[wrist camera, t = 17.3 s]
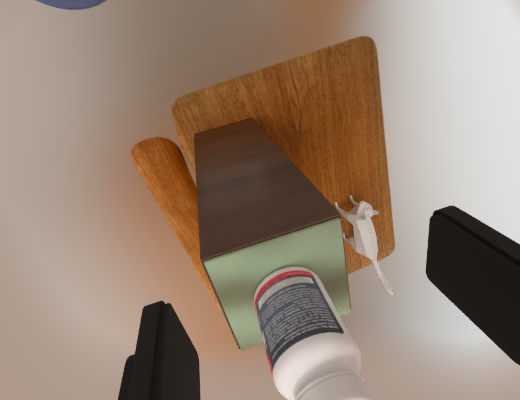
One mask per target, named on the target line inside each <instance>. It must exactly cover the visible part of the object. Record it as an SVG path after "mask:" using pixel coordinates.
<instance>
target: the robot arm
mask: <svg viewBox="0 0 520 400" xmlns="http://www.w3.org/2000/svg"><path fill="white" fill-rule="evenodd" d="M426 274H427V277H428V278H429V280H430V281H431V282H432V283H433V284H434V285H435V286H436V287H437V288H438V289H439V290H440V291H441V292H442V293H443V294H444V295H445V296H446V297H447V298H448V299H449V300H451V302H453V303H454V304H455V305H456V306H457V307H458V308H459V309H460V310H461V311H462V312H463V313H464V314H465V315H466V316H467V317H469V319H470V320H471V321H472V322H473V323H474V324H475V325H476V326H478V327H479V328H480V329H481V330H482V331H483V332H484V333H485V334H486V335H487V336H488V337H489V338H490V339H491V340H492V341H493V342H494V343H495V344H496V345H497V346H498V347H499V348H501V350H503V351H504V352H505V353H506V354H507V355H508V356H509V357H510V358H511V359H512V360H513V361H514V362H515V363H517V364H519V365H520V244H518V243H516V242H515V241H513V240H511V239H509V238H508V237H506V236H504V235H503V234H501V233H499V232H498V231H496V230H494V229H492V228H491V227H489V226H488V225H486V224H484V223H482V222H481V221H479V220H477V219H476V218H474V217H472V216H471V215H469V214H467V213H466V212H464V211H462V210H460V209H459V208H457V207H455V206H448V207H445V208H442V209H439V210H436V211H434V213H433V216H432V217H431V218H430V225H429V237H428V250H427V262H426ZM199 376H200V374H199V358H198V354H197V351H196V349H195V348H194V345H193V344H192V342H191V340H190V338H189V336H188V334H187V333H186V331H185V329H184V327H183V325H182V324H181V322H180V320H179V318H178V316H177V314H176V313H175V311H174V309H173V307H172V305H171V304H170V303H167V304H165V303H164V302H163V301H159V302H156V303H153V304H150V305H147V306H145V307H144V308H143V311H142V317H141V322H140V328H139V334H138V340H137V345H136V351H135V354H134V355H131V356H129V357H128V359H127V360H126V363H125V368H124V372H123V377H122V382H121V387H120V392H119V397H118V400H200V377H199Z"/></svg>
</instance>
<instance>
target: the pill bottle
mask: <svg viewBox="0 0 520 400" xmlns="http://www.w3.org/2000/svg"><path fill="white" fill-rule="evenodd" d="M254 307H255V311H256V315H257V318H258V322H259V326H260V330H261V334H262V338H263V342H264V345H265V349H266V353H267V357H268V361H269V365H270V369H271V373H272V377H273V380H274V383H275V386H276V388H277V390H278V391H279V392H280V393H281V394H282V395H283V396H284V397H286V398H287V399H289V400H374V398H373V396H372V394H371V392H370V390H369V388H368V385H367V383H366V382H365V381H364V380H363V379H362V377H361V376H360V375H359V374H358V373H359V371H360V368H361V353H360V350H359V348H358V346H357V344H356V342H355V340H354V339H353V337H352V335H351V333H350V332H349V330H348V328H347V327H346V325H345V323H344V321H343V320H342V318H341V316H340V315H339V313H338V311H337V309H336V307H335V305H334V304H333V302H332V300H331V298H330V296H329V295H328V293H327V291H326V289H325V287H324V285H323V284H322V282H321V280H320V279H319V277H318V276H317V275H316V274H315V273H314V272H312V271H311V270H309V269H307V268H304V267H286V268H283V269H280V270H277V271H275V272H273V273H271V274H270V275H268V276H267V277H266V278H265V279H264V280H263V281H262V282H261V283H260V284H259V286H258V287H257V289H256V292H255V295H254Z"/></svg>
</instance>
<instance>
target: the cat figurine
mask: <svg viewBox="0 0 520 400" xmlns="http://www.w3.org/2000/svg"><path fill="white" fill-rule="evenodd" d="M349 197H350V201H351V202H352V203H353V204H354V205H355V207H354V208H352V209H351V211H350V212H345V211H343V210H342V209H340V208H339V207H338V204H337V201H336V202H334V203H335V206H336V208H337V209H338V211H339V212H340V214H341V215H342V216H343V217H344V218H346V219H347V220H348V221H349V222H350V223H351V224H353V230H354V237H350V238H349V240H348V239H346V238H345V235H344V232H343V238H344V239H345V240H346V241H347V243H348V244H349V245H351V246H353V248H354V249H355V251H356V252H357V253H359V254H362V255H364V256H366V257H367V258H369V259H370V260H371V262H372V265H373V267H374V270H375V272H376V275H377V277H378V279H379V281H380V283H381V285H382V286H383V288H384V290H385V291H386V293H387V294H388V295H391V296H393V290H392V288H391V286H390V284H389V283H388V281H387V280H386V278H385V277H384V275H383V273H382V272H381V270H380V268H379V265H378V263H377V260H376V258H377V253H378V247H377V238H376V234H375V230H374V226H373V223H372V221H371V218H370V217H372V216H373V215H378V214H379V211H376V210H372V206H371V205H370V204H368V203H366V202H365V201H361V202H359V204H358V203H356V202H355V201H353V199H352V195H350V196H349Z"/></svg>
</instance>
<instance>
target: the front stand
mask: <svg viewBox="0 0 520 400" xmlns="http://www.w3.org/2000/svg"><path fill="white" fill-rule="evenodd" d="M194 144H195V163H196V181H197V182H196V183H197V202H198V221H199V241H200V260H201V262H202V264H203V267H204V269H205V271H206V274H207V276H208V278H209V281H210V283H211V285H212V288H213V290H214V292H215V295H216V297H217V299H218V302H219V304H220V306H221V308H222V311H223V313H224V315H225V318H226V320H227V322H228V325H229V327H230V329H231V332H232V334H233V336H234V339H235V341H236V343H237V345H238V348H239V349H241V350H242V351H243V350H246V349H248V348H251V347H254V346H257V345H260V344H262V343H264V342H263V338H262V334H261V330H260V326H259V322H258V318H257V315H256V311H255V307H254V295H255V292H256V289H257V287H258V286H259V284H260V283H261V282H262V281H263V280H264V279H265V278H266V277H267V276H268V275H270V274H271V273H273V272H275V271H277V270H280V269H283V268H286V267H304V268H307V269H309V270H311V271H312V272H314V273H315V274H316V275H317V276H318V277H319V279H320V280H321V282H322V284H323V285H324V287H325V289H326V291H327V293H328V295H329V296H330V298H331V300H332V302H333V304H334V305H335V307H336V309H337V311H338V313H339V315H340V316H342V315H345V314H348V313H351V304H350V294H349V285H348V276H347V267H346V258H345V249H344V240H343V231H342V222H341V214H340V213H339V212H338V211H337V210H336V209H335V208H334V207H333V206H332V204H331V203H330V202H329V201H328V200H327V199H326V198H325V197H324V196H323V195H322V194H321V192H320V191H319V190H318V189H317V188H316V187H315V186H314V185H313V184H312V183H311V182H310V181H309V179H308V178H307V177H306V176H305V175H304V174H303V173H302V172H301V171H300V170H299V169H298V167H297V166H296V165H295V164H294V163H293V162H292V161H291V160H290V159H289V158H288V157H287V156H286V154H285V153H284V152H283V151H282V150H281V149H280V148H279V147H278V146H277V145H276V144H275V143H274V141H273V140H272V139H271V138H270V137H269V136H268V135H267V134H266V133H265V132H264V131H263V129H262V128H261V127H260V126H259V125H258V124H257V123H256V122H255V121H254V120H253V119H252V118H250V119H246V120H243V121H240V122H236V123H233V124H229V125H226V126H222V127H219V128H215V129H212V130H208V131H205V132H201V133H198V134H194Z"/></svg>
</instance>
